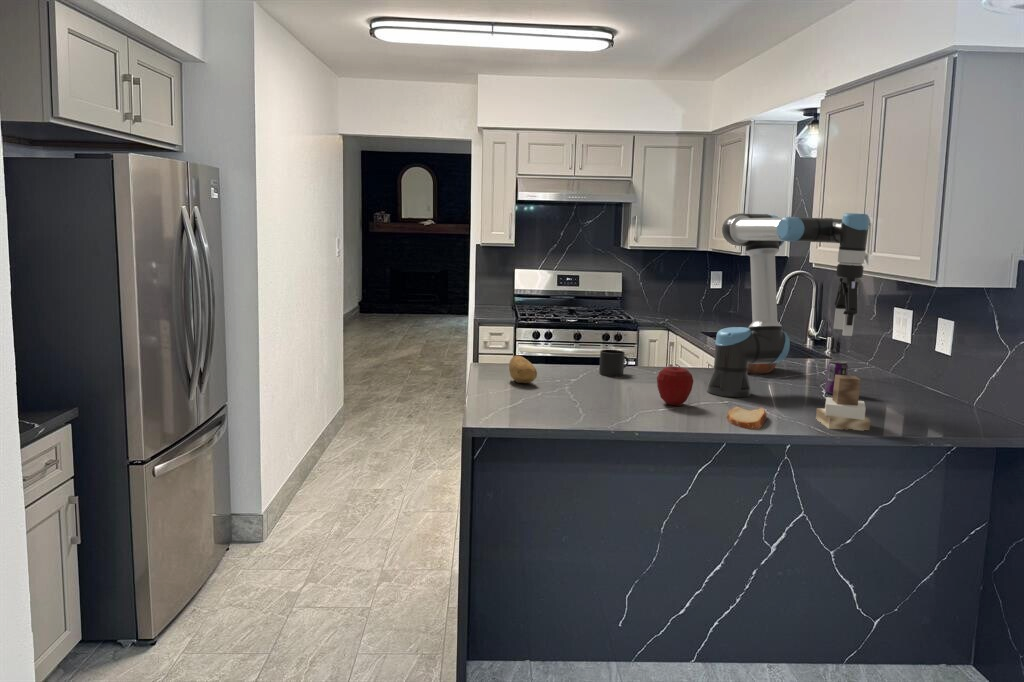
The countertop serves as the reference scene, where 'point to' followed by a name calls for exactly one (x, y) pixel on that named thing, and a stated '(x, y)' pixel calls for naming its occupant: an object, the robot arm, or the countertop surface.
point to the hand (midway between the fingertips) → (842, 332)
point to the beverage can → (834, 373)
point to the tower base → (842, 421)
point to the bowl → (760, 368)
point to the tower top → (845, 410)
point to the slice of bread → (747, 417)
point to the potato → (522, 370)
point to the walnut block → (846, 390)
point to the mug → (612, 362)
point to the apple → (674, 385)
